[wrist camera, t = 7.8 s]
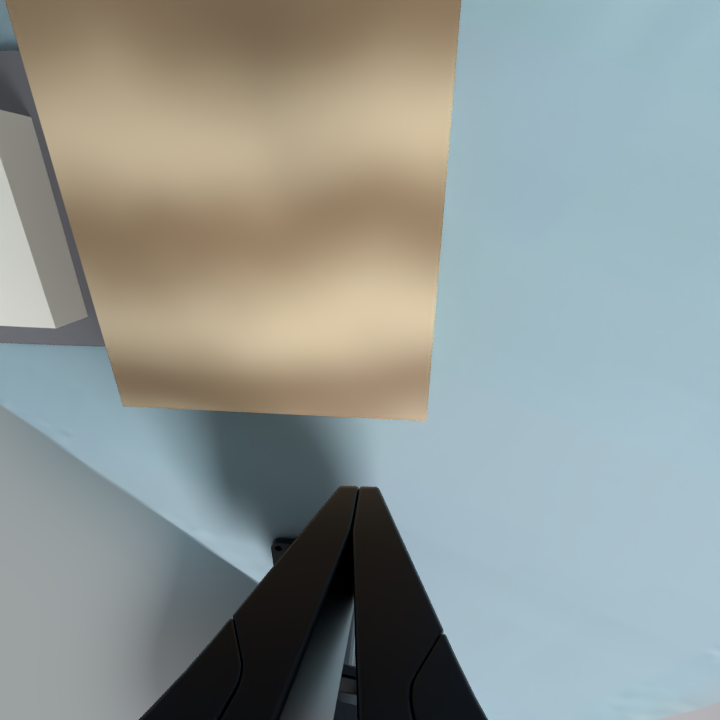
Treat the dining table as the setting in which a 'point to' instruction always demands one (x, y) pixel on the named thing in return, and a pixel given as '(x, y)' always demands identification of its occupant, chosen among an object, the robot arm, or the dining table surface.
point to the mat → (13, 94)
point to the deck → (253, 192)
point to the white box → (32, 237)
